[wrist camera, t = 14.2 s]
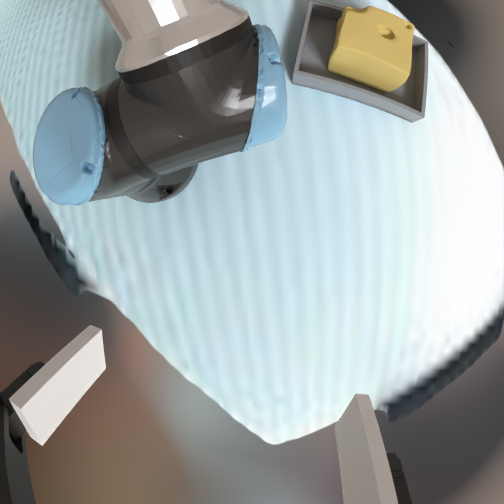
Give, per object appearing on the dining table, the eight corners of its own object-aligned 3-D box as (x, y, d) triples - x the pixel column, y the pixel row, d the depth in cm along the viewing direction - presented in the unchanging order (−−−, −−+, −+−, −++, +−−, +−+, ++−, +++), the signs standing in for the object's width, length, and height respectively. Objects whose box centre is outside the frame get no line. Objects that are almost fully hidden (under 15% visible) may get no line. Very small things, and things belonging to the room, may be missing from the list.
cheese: (335, 26, 31) (346, -6, 21) (395, 49, 30) (419, 24, 21) (323, 73, 34) (334, 45, 24) (387, 98, 33) (414, 79, 24)
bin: (292, 83, 35) (293, 73, 31) (307, 14, 31) (309, 0, 27) (411, 122, 34) (424, 117, 30) (417, 51, 30) (428, 42, 26)
